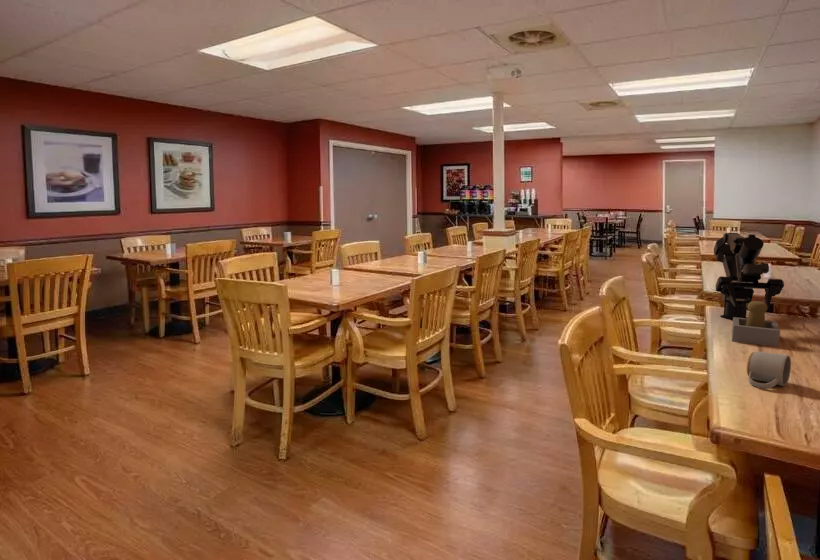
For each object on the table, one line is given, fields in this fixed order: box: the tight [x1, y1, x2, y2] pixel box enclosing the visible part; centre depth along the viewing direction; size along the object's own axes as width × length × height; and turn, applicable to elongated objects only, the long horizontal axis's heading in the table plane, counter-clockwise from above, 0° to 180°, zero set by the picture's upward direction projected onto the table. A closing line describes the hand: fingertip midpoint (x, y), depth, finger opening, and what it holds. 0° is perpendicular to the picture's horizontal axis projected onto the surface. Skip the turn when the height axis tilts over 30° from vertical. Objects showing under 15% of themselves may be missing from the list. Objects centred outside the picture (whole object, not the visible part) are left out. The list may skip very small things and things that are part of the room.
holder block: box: [731, 317, 781, 347], centre depth 170 cm, size 12×12×5 cm
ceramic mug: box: [746, 351, 792, 390], centre depth 134 cm, size 11×8×8 cm
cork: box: [745, 300, 768, 328], centre depth 170 cm, size 6×6×11 cm
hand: (751, 306), depth 175 cm, fingers open, 9 cm apart
